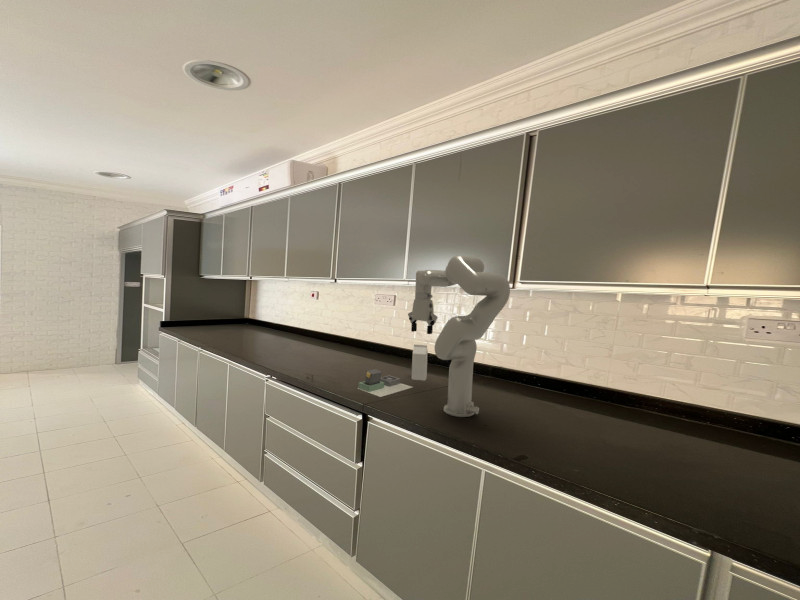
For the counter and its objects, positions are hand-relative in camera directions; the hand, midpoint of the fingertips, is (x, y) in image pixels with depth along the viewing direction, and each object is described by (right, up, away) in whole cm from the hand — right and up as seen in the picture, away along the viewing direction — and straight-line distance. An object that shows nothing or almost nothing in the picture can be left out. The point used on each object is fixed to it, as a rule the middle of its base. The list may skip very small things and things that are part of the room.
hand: (421, 332), depth 167 cm
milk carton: (0, -28, +20) cm, 34 cm away
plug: (-24, -26, 0) cm, 35 cm away
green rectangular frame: (-24, -26, 0) cm, 36 cm away
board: (-17, -28, +1) cm, 33 cm away
